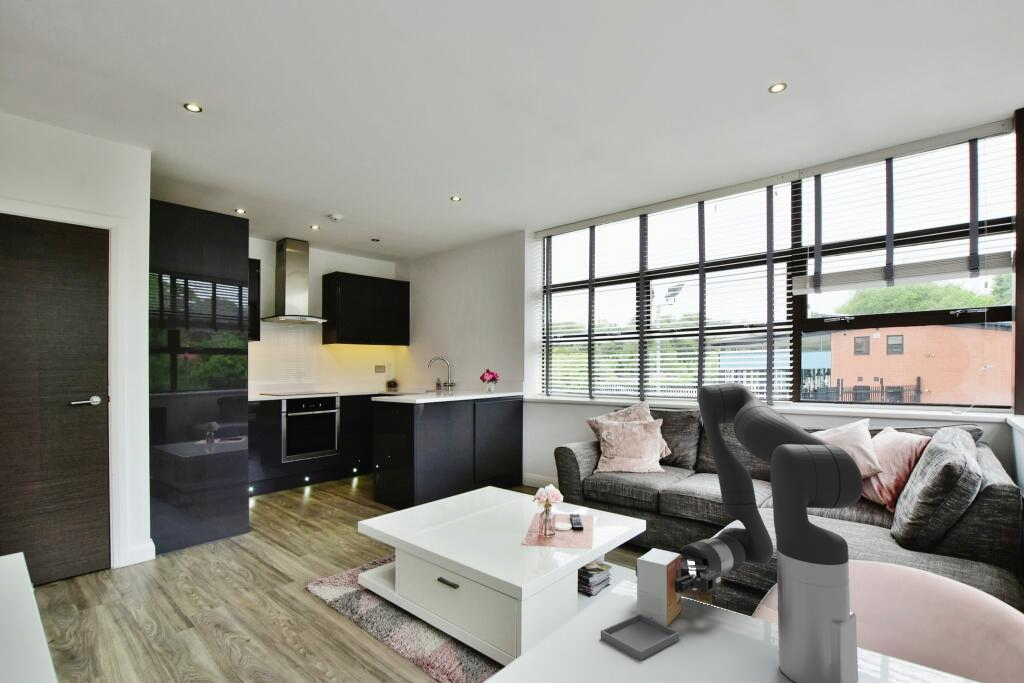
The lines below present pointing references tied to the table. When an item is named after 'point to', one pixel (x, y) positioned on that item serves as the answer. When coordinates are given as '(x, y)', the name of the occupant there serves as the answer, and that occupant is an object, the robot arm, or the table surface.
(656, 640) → the tray
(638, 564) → the small box
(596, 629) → the table surface
